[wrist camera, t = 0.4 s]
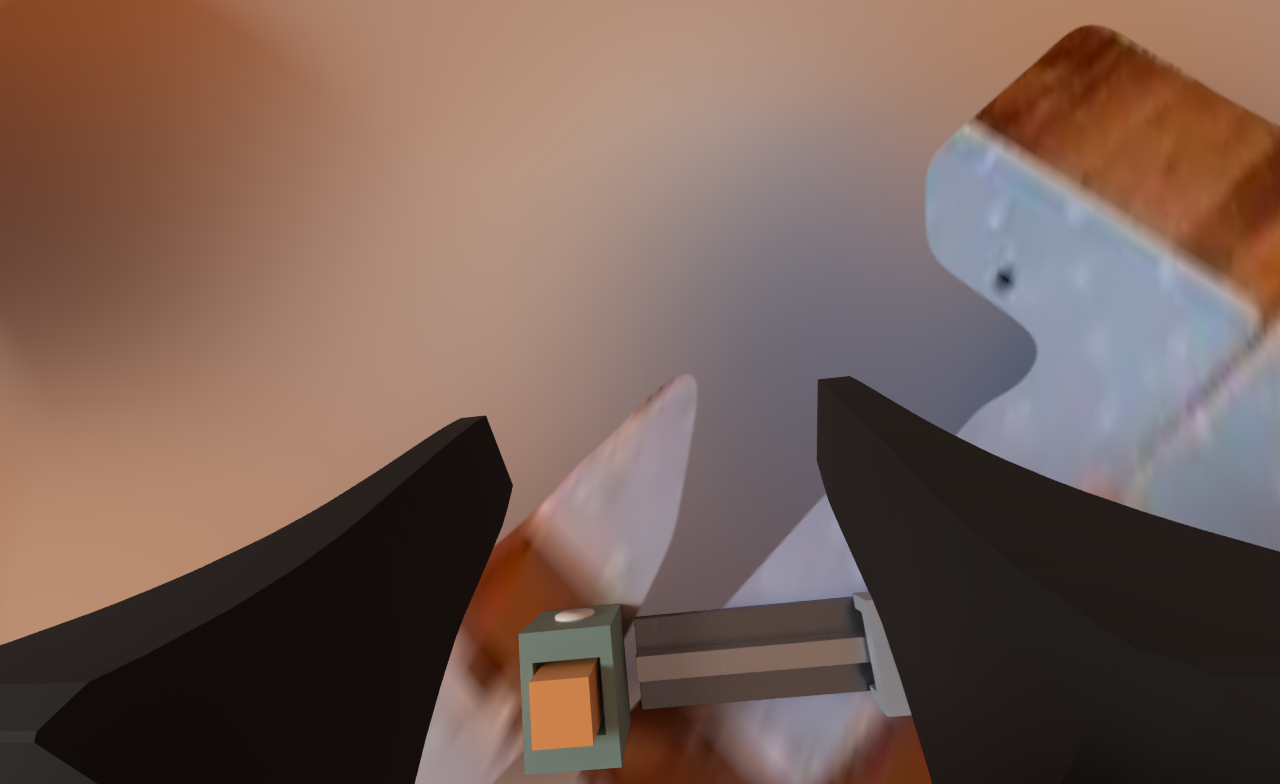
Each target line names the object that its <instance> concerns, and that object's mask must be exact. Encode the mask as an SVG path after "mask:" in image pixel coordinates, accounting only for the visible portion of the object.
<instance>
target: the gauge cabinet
mask: <svg viewBox="0 0 1280 784" xmlns="http://www.w3.org/2000/svg"><path fill="white" fill-rule="evenodd" d="M519 652H520V674H521V697H522V719H523V741H524V761H525V763H524V764H525V775H527V774H540V773H553V772H565V771H579V770H592V769H605V768H618V767H622V763H623V758H624V753H625V748H626V743H627V738H628V733H629V728H630V723H631V716H630V706H629V695H628V683H627V671H626V660H625V648H624V637H623V626H622V615H621V604H617V605H607V606H596V607H586V608H575V609H564V610H554V611H544V612H543V613H541V614H540V615H539V616H538V617H537V618H536V619H535V620H534V621H533V622H531V623H530V624H529V625H528V626H527V627H526V628H525V629H524V630H522V631H521V632H520V633H519ZM595 657H598V665H599V678H600V691H601V704H602V717H603V718H602V721H601V724H600V727H599V730H598V733H597V736H596V739H595V742H594V745H593V746H584V747H571V748H559V749H546V750H534V751H532V738H531V717H530V697H529V681H530V680H531V679H532V677H533V676H534V675H535V674H536V672H537V671H538V670H539V668H540V667H541V666H542V665H543V663H544V662H550V661H561V660H573V659H584V658H595Z"/></svg>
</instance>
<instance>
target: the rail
mask: <svg viewBox="0 0 1280 784" xmlns="http://www.w3.org/2000/svg"><path fill="white" fill-rule="evenodd" d="M634 626H635V636H636V646H637V654H636V668H637V678H638V682H640V690H641V701H642V709H654V708H666V707H678V706H690V705H702V704H714V703H726V702H738V701H750V700H762V699H774V698H786V697H798V696H810V695H822V694H834V693H846V692H858V691H870V685H875V680H874V675H873V670H872V664H871V659H870V654H869V649H868V643H867V638H866V633H865V627H864V622H863V617H862V612H861V611H859V610H857V609H856V608H855V604H854V599H853V597H843V598H833V599H822V600H811V601H801V602H790V603H779V604H768V605H758V606H747V607H736V608H726V609H716V610H704V611H693V612H683V613H673V614H661V615H650V616H640V617H635V618H634Z"/></svg>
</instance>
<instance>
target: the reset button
mask: <svg viewBox="0 0 1280 784" xmlns="http://www.w3.org/2000/svg"><path fill="white" fill-rule="evenodd" d="M529 697H530V717H531V738H532V751H534V750H546V749H559V748H571V747H584V746H593V745H594V742H595V739H596V736H597V733H598V730H599V727H600V724H601V721H602V718H603V717H602V704H601V691H600V678H599V665H598V657H595V658H584V659H573V660H561V661H550V662H544V663H543V665H542V666H541V667H540V668H539V670H538V671H537V672H536V674H535V675H534V676H533V677H532V679H531V680H530V681H529Z"/></svg>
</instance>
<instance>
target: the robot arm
mask: <svg viewBox="0 0 1280 784" xmlns="http://www.w3.org/2000/svg"><path fill="white" fill-rule="evenodd" d="M817 412H818V413H817V462H818V466H819V470H820V473H821V477H822V480H823V484H824V487H825V490H826V494H827V497H828V500H829V503H830V505H831V508H832V510H833V512H834V515H835V517H836V519H837V521H838V524H839V526H840V528H841V530H842V533H843V535H844V537H845V539H846V542H847V544H848V546H849V548H850V551H851V553H852V555H853V557H854V559H855V562H856V564H857V566H858V568H859V571H860V573H861V575H862V577H863V580H864V582H865V584H866V586H867V588H868V591H869V593H870V595H871V597H872V600H873V602H874V605H875V607H876V610H877V612H878V615H879V617H880V620H881V622H882V625H883V628H884V631H885V634H886V637H887V640H888V643H889V646H890V649H891V652H892V655H893V658H894V661H895V664H896V667H897V670H898V673H899V676H900V680H901V683H902V686H903V689H904V692H905V696H906V699H907V702H908V705H909V708H910V711H911V715H912V718H913V721H914V724H915V727H916V730H917V734H918V737H919V740H920V743H921V747H922V750H923V754H924V757H925V760H926V764H927V767H928V770H929V774H930V777H931V781H932V784H1280V552H1279V551H1275V550H1272V549H1268V548H1264V547H1261V546H1257V545H1254V544H1250V543H1247V542H1243V541H1240V540H1236V539H1233V538H1229V537H1226V536H1222V535H1219V534H1215V533H1212V532H1208V531H1205V530H1201V529H1198V528H1194V527H1191V526H1187V525H1184V524H1181V523H1178V522H1174V521H1171V520H1168V519H1165V518H1162V517H1158V516H1155V515H1152V514H1149V513H1146V512H1142V511H1139V510H1137V509H1134V508H1131V507H1128V506H1125V505H1122V504H1119V503H1116V502H1113V501H1110V500H1108V499H1105V498H1102V497H1099V496H1096V495H1093V494H1090V493H1087V492H1084V491H1082V490H1079V489H1076V488H1074V487H1071V486H1068V485H1066V484H1063V483H1060V482H1058V481H1055V480H1052V479H1050V478H1047V477H1045V476H1043V475H1040V474H1038V473H1035V472H1033V471H1031V470H1028V469H1026V468H1023V467H1021V466H1019V465H1016V464H1014V463H1011V462H1009V461H1007V460H1004V459H1002V458H1000V457H998V456H996V455H993V454H991V453H989V452H987V451H985V450H983V449H981V448H979V447H977V446H975V445H973V444H971V443H969V442H967V441H965V440H963V439H961V438H959V437H957V436H955V435H952V434H950V433H949V432H947V431H945V430H943V429H941V428H939V427H937V426H935V425H934V424H932V423H930V422H928V421H926V420H925V419H923V418H921V417H919V416H917V415H916V414H914V413H912V412H910V411H909V410H907V409H905V408H904V407H902V406H900V405H899V404H897V403H895V402H893V401H892V400H890V399H888V398H886V397H885V396H883V395H882V394H880V393H878V392H877V391H875V390H873V389H872V388H870V387H868V386H867V385H865V384H863V383H862V382H859V381H858V380H856V379H854V378H852V377H850V376H847V377H837V378H828V379H819V380H818V410H817ZM512 487H513V485H512V482H511V479H510V477H509V474H508V472H507V469H506V467H505V464H504V461H503V459H502V456H501V453H500V451H499V448H498V446H497V443H496V440H495V438H494V435H493V433H492V430H491V427H490V425H489V423H488V420H487V417H486V416H477V417H468V418H461V419H459V420H457V421H455V422H453V423H451V424H449V425H447V426H446V427H444V428H443V429H441V430H439V431H437V432H436V433H434V434H433V435H431V436H430V437H428V438H427V439H425V440H424V441H422V442H421V443H419V444H418V445H416V446H415V447H413V448H412V449H410V450H409V451H407V452H406V453H404V454H403V455H401V456H400V457H398V458H397V459H395V460H394V461H392V462H391V463H389V464H388V465H386V466H385V467H383V468H382V469H380V470H379V471H377V472H376V473H374V474H372V475H371V476H369V477H368V478H366V479H364V480H363V481H361V482H360V483H358V484H357V485H355V486H353V487H352V488H350V489H349V490H347V491H345V492H344V493H343V494H341V495H339V496H338V497H336V498H334V499H333V500H331V501H330V502H328V503H326V504H324V505H323V506H321V507H319V508H318V509H316V510H314V511H312V512H311V513H309V514H307V515H306V516H304V517H302V518H300V519H298V520H296V521H294V522H293V523H291V524H289V525H287V526H285V527H283V528H281V529H279V530H278V531H276V532H274V533H272V534H270V535H268V536H266V537H264V538H262V539H260V540H258V541H256V542H254V543H252V544H250V545H248V546H246V547H243V548H242V549H240V550H237V551H235V552H233V553H231V554H229V555H227V556H225V557H223V558H220V559H218V560H216V561H214V562H212V563H210V564H208V565H206V566H204V567H202V568H199V569H197V570H195V571H193V572H190V573H188V574H186V575H183V576H181V577H179V578H176V579H174V580H172V581H169V582H167V583H165V584H162V585H160V586H158V587H156V588H153V589H151V590H148V591H146V592H143V593H140V594H138V595H135V596H133V597H131V598H128V599H126V600H123V601H121V602H118V603H116V604H113V605H111V606H108V607H105V608H103V609H100V610H97V611H95V612H92V613H90V614H87V615H84V616H81V617H78V618H76V619H73V620H70V621H67V622H65V623H62V624H59V625H56V626H53V627H51V628H48V629H45V630H42V631H39V632H37V633H34V634H31V635H28V636H26V637H23V638H20V639H17V640H14V641H12V642H9V643H6V644H3V645H0V784H415V780H416V776H417V772H418V768H419V764H420V760H421V756H422V752H423V748H424V744H425V740H426V736H427V732H428V729H429V725H430V722H431V718H432V715H433V711H434V708H435V704H436V700H437V697H438V693H439V690H440V686H441V683H442V680H443V677H444V673H445V670H446V667H447V664H448V661H449V658H450V654H451V651H452V648H453V645H454V642H455V639H456V636H457V633H458V631H459V628H460V625H461V623H462V620H463V617H464V615H465V613H466V610H467V608H468V606H469V603H470V601H471V599H472V596H473V594H474V592H475V589H476V587H477V585H478V582H479V580H480V578H481V575H482V573H483V571H484V569H485V566H486V564H487V562H488V559H489V557H490V555H491V552H492V550H493V547H494V545H495V543H496V540H497V538H498V535H499V533H500V530H501V528H502V525H503V522H504V518H505V515H506V512H507V508H508V504H509V500H510V496H511V492H512Z"/></svg>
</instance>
